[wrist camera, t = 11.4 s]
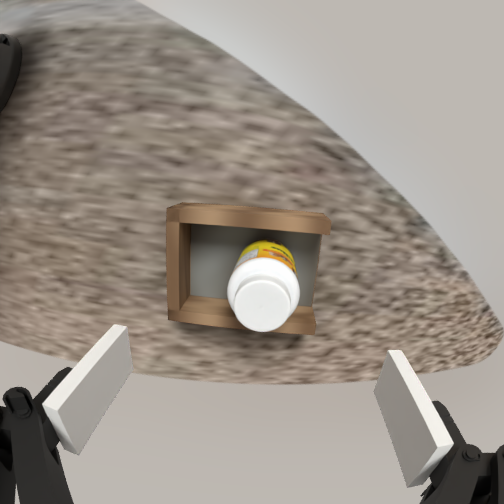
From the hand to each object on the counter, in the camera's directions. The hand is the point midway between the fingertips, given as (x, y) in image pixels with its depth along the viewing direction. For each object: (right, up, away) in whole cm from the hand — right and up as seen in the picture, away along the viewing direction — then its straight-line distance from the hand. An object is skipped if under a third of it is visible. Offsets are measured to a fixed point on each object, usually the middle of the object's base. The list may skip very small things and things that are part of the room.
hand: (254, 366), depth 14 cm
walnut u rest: (-1, +5, +18) cm, 18 cm away
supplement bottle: (+1, +4, +17) cm, 17 cm away
